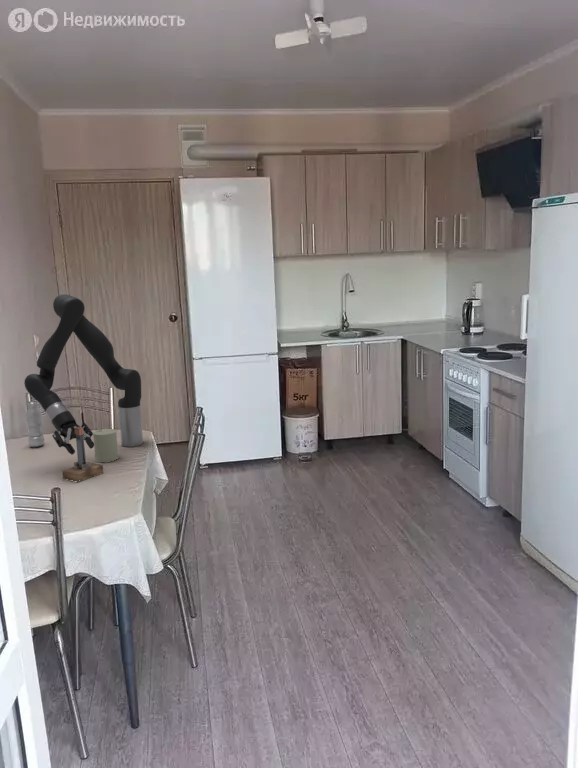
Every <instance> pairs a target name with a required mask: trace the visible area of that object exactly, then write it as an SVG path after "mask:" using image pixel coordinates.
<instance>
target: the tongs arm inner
mask: <svg viewBox="0 0 578 768" xmlns="http://www.w3.org/2000/svg"><path fill="white" fill-rule="evenodd" d="M77 428H81V433H82V448H83V461H84V464H85V463H87V458H86V456H87V455H86V449H85V440H84V438H83V434H84V430H83V428H82V427H77Z"/></svg>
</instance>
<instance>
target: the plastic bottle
mask: <svg viewBox="0 0 578 768" xmlns="http://www.w3.org/2000/svg"><path fill="white" fill-rule="evenodd" d="M27 407H28V408H27V409H26V411H25V418H26V421H27V427H28V439H27V441H28V445H29V446H30V447H31V448H36V447H37V448H38V447H42V446H43V445H44V444H45V437H44V436H45V435H44V432H43V428H42V415H43V414H42V410H41V409H40V407H38V401H37V400H30V401H28V402H27Z"/></svg>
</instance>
